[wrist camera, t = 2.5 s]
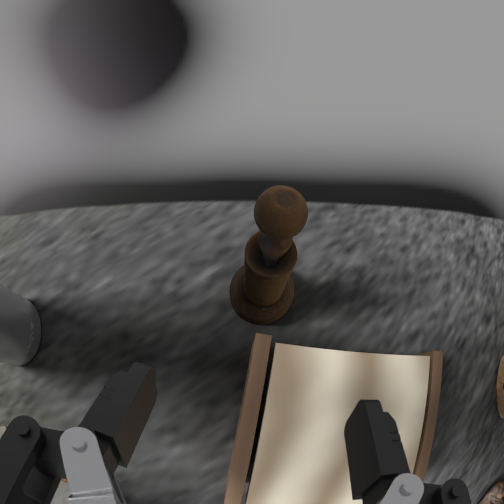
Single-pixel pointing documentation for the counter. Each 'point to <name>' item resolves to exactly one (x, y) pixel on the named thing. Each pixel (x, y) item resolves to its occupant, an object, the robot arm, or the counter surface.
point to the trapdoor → (328, 419)
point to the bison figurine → (495, 494)
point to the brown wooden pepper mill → (270, 257)
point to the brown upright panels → (252, 407)
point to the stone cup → (500, 388)
